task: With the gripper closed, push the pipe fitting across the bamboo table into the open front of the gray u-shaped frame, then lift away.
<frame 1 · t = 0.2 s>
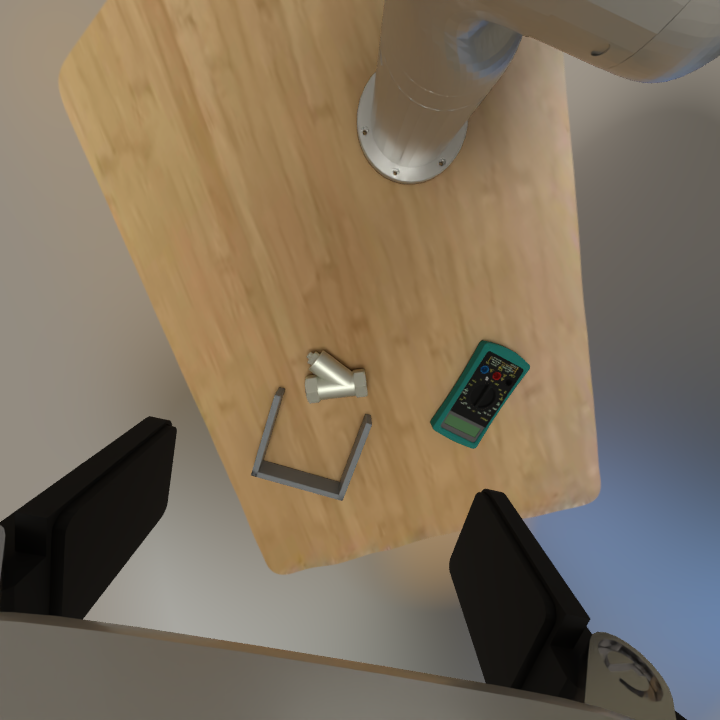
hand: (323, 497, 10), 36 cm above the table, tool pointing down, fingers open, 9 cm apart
pipe fitting: (335, 369, 47), on the table
gray u-shaped frame: (313, 437, 49), on the table
digital multimeter: (474, 391, 48), on the table
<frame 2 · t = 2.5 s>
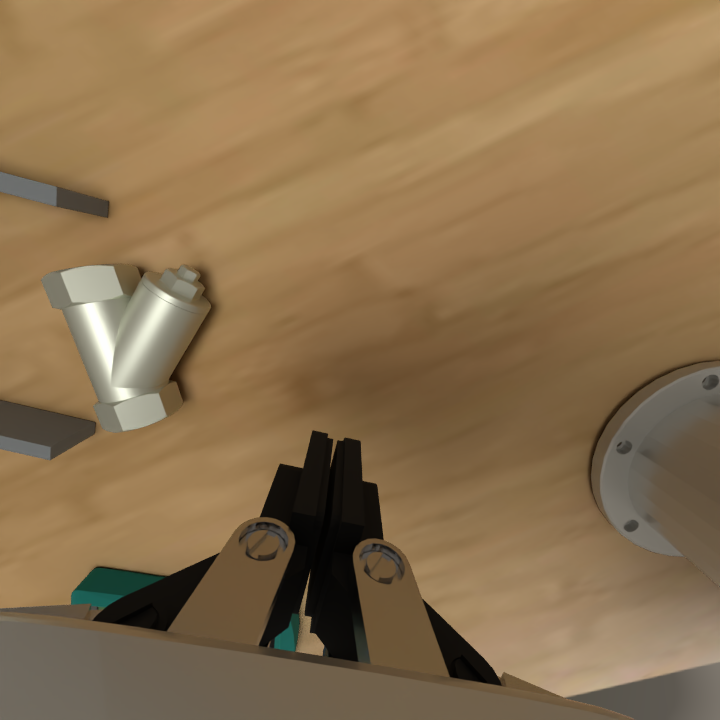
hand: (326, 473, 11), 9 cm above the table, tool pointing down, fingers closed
pipe fitting: (172, 335, 19), on the table
digital multimeter: (199, 608, 25), on the table
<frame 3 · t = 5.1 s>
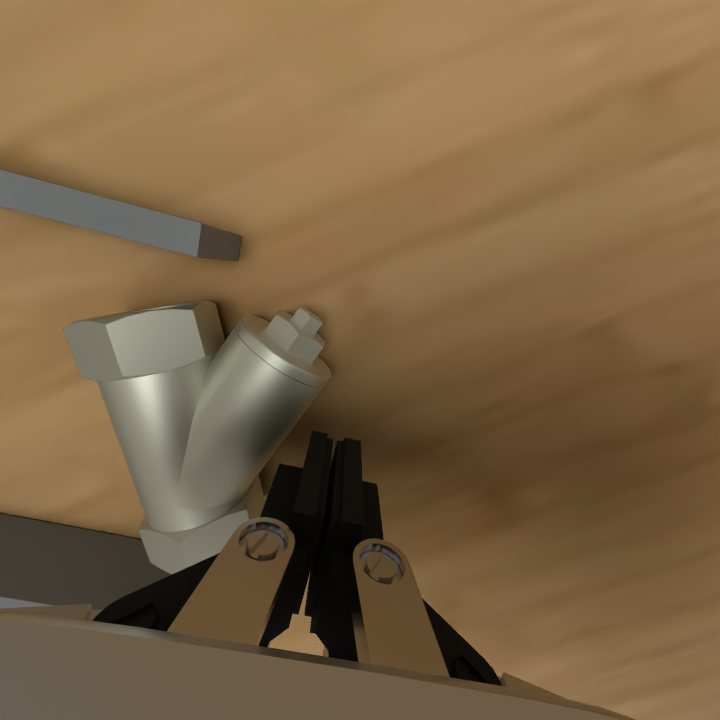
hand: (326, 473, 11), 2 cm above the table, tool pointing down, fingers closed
pipe fitting: (252, 401, 13), on the table
gray u-shaped frame: (45, 385, 12), on the table
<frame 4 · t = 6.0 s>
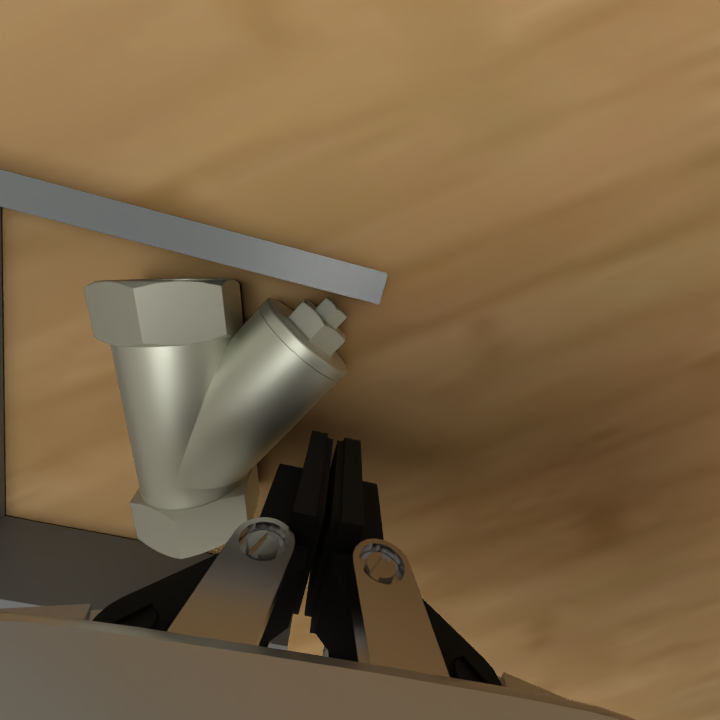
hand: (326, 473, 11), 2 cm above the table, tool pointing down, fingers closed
pipe fitting: (259, 386, 13), on the table
gray u-shaped frame: (174, 414, 12), on the table
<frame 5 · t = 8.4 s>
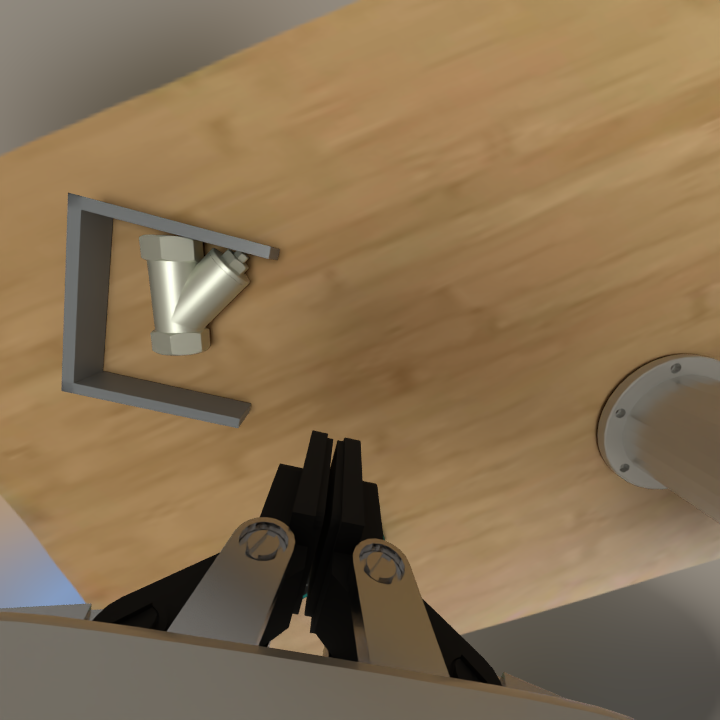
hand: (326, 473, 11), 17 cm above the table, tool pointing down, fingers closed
pipe fitting: (212, 294, 26), on the table
gray u-shaped frame: (187, 317, 26), on the table
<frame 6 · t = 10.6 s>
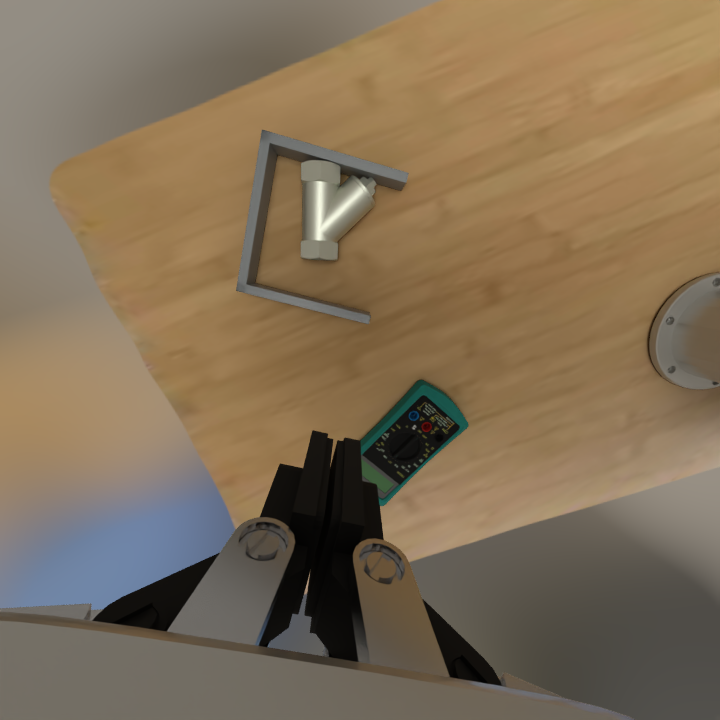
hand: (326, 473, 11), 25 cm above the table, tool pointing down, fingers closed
pipe fitting: (338, 218, 33), on the table
gray u-shaped frame: (326, 238, 33), on the table
digital multimeter: (399, 437, 40), on the table
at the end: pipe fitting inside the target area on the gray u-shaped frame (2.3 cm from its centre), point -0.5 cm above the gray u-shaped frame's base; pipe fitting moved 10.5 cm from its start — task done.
